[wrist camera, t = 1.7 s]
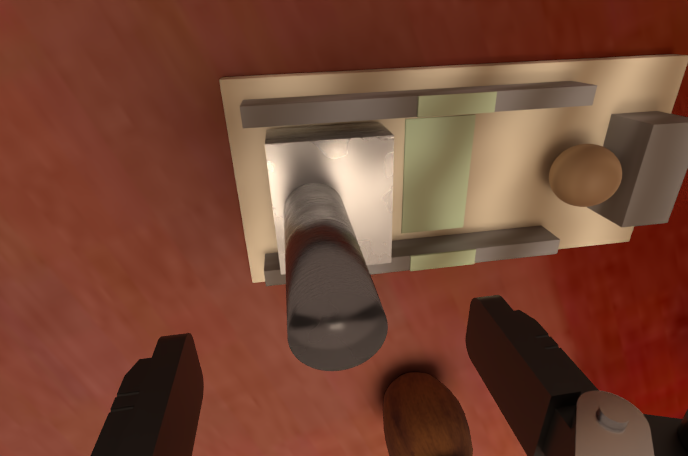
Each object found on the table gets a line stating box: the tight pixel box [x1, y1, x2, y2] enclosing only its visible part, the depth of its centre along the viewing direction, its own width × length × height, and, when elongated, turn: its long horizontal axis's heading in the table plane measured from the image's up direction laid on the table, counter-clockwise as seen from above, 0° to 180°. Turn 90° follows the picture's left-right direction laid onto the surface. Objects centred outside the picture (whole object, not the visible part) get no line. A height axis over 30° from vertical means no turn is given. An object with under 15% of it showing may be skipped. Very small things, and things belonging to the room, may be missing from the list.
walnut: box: [549, 144, 622, 207], centre depth 23 cm, size 4×4×4 cm
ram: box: [265, 122, 394, 371], centre depth 17 cm, size 6×7×12 cm
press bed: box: [219, 54, 688, 286], centre depth 23 cm, size 26×12×4 cm, turn 92°
